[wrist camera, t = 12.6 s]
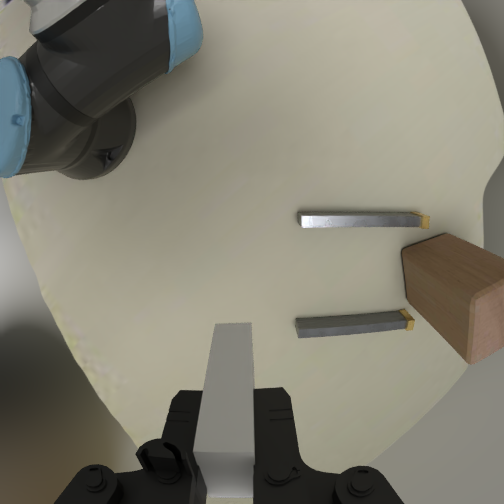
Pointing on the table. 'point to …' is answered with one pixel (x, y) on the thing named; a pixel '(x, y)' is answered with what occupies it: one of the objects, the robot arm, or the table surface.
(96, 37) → the robot arm
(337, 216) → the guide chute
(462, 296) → the wooden block
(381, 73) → the table surface
